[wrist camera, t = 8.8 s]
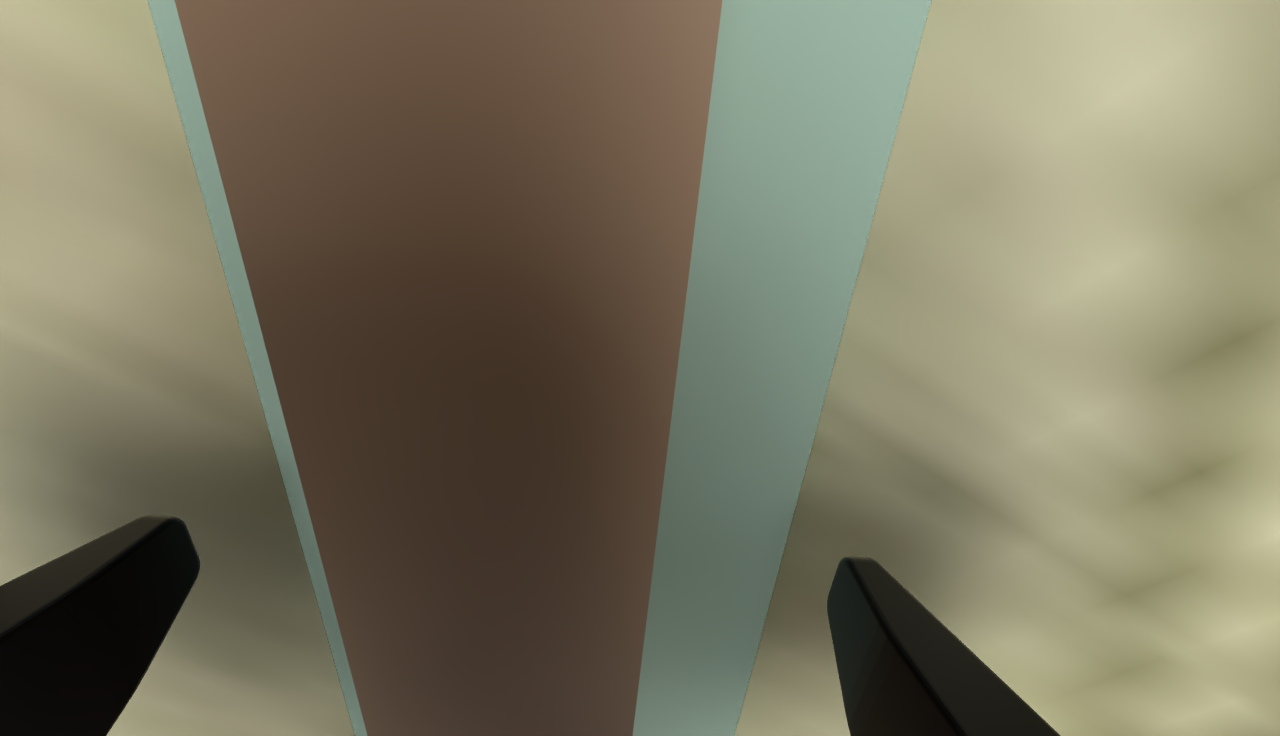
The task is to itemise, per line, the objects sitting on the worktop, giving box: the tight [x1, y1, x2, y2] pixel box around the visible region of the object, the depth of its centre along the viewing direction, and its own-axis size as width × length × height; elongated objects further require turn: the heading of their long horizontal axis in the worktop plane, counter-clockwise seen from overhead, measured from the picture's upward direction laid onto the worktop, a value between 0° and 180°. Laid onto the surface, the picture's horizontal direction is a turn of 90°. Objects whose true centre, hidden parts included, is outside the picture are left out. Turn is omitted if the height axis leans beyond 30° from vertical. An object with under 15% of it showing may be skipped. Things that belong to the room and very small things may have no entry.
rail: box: [175, 0, 722, 736], centre depth 8 cm, size 4×20×4 cm, turn 176°
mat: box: [148, 0, 931, 736], centre depth 10 cm, size 9×24×1 cm, turn 176°
